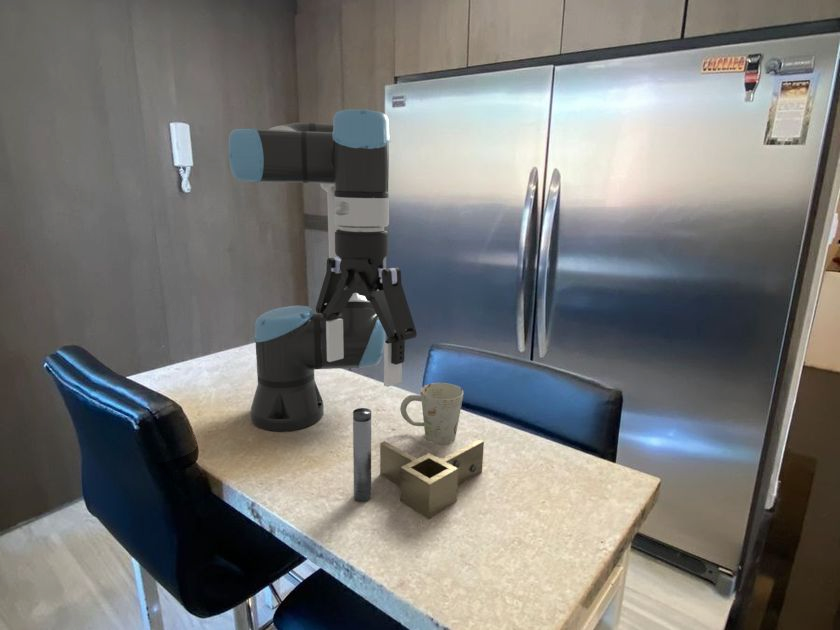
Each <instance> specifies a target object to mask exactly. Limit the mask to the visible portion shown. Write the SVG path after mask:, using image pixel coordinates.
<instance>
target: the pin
mask: <svg viewBox="0 0 840 630" xmlns="http://www.w3.org/2000/svg"><path fill="white" fill-rule="evenodd" d="M352 424H353V425H352V427H353V428H352V433H353V434H352V438H353V439H352V440H353V442H352V447H353V448H352V450H353V452H352V453H353V456H352V459H353V500H354V501H355V502H357V503H361V504H362V503H367V502H369V501H370V500H372V410H371V409H369V408H366V407H359V408H356V409H354V410H353V411H352Z"/></svg>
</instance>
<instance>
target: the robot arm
mask: <svg viewBox="0 0 840 630" xmlns="http://www.w3.org/2000/svg"><path fill="white" fill-rule="evenodd" d="M228 137H229V138H228V158H229V167H230V172H231V175H232V177H233V178H234V179H235V180H237V181H240V182H248V183H249V182H250V183H251V182H252V183H253V184H254V183H256V184H259V183H303V184H319V185H320V188H322V190H324V191H325V192H326V197H327V199H326V200H327V228H328V229H327V232H328V233H327V235H328V258H327V259H326V269H325V270H326V272H325V275H324V279H323V282H322V285H321V289H320V292H319V295H318V299H317V303H316V305H315V312H316V313H314V311H313V309H312V307H311V306H308V305H301V304H300V305H288V306H282V307H278V308H277V307H276V308H275V309H270V310H268V311H266V312H264V313H262V314H260V315H259V316H258V317H257V318H256V321H255V323H254V338H253V340H254V341H253V342H255V354H256V355H255V356H256V374H257V386H256V389H255V393H254V396H253V400H252V402H251V403H252V404H251V407H250V419H251V422H252V423H253V425H255V427H258V428H260V429H263V430H268V431H271V432H272V431H275V432H287V431H295V430H301V429H305V428H308V427H310V426H313V425H314V424H316V423H318V422H319V421H320V420H321V419H322V418H323V416H324V413H325V412H324V407H325V406H324V401H323V398H322V396H321V393H320V391H319V387H318V385H317V383H316V379H315V370H331V369H332V370H333V369H335V370H337V369H360V368H370V367H371V368H372V367H375V366H377V365H378V364H379V363H380V362H381V359H382V356H383V386H384V387H387V388H389V387H392V386H394V385H397V384H400V383H402V380H403V379H402V377H403V373H402V371H403V369H402V368H403V365H402V364H403V363H404V362H405V349H406V348H405V347H406V345H405V344H406V343H405V342H406V340H411V339H414V338H416V337H417V335H418V333H417V330H416V327H415V324H414V320H413V316H412V314H411V310H410V307H409V304H408V301H407V298H406V295H405V292H404V287H403V285H402V272H401V269H400V267H391V268H385V265H384V260H385V258H386V257H387V256H388V254H389V232H388V230H385V228H387V227H388V226H389V225H390V212H389V211H390V210H389V209H390V201H389V200H390V198H389V175H390V173H389V172H390V171H389V167H390V143H391V136H390V121H389V118H388V115H386V114H385V113H384V112H381V111H378V110H371V109H342V110H338V111H337V112H336V113H334V116H333V121H332V123H320V122H316V123H315V122H293V123H292V122H291V123H288V124H282V125H277V126H272V127H270V128H269V129H264V128H263V129H261V128H259V129H257V128H253V127H251V128H236V129H233V130H231V132H230V133H229V136H228ZM386 336H387V339H386Z"/></svg>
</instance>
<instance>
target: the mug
mask: <svg viewBox="0 0 840 630" xmlns="http://www.w3.org/2000/svg"><path fill="white" fill-rule="evenodd" d="M463 398H464V390H463V389H462V388H461V387H460V386H459V385H456V384H453V383H447V382H432V383H429V384H425V385H424V386H422V387H421V389H420V394H409V395H408V396H406V397H405V398H404V399H403V400H402V402H401V404H400V409H399V410H400V413H401V417H402V418H403V419H404V421H406V423H408V424H410V425H412V426H414V427H423V428H424V429H423V430H424V437H425V439H426V440H427V441H428V442H430V443H433V444H437V445H445V444H446V445H448V444H450V443H453V442H454V441H455V439H456V437H457V431H458V425H459V421H460V414H461V410H462V405H463V404H462V403H463V400H464V399H463ZM411 402H421V409H422V410H421V411H422V415H423V416H422V418H423V421H415V420H413V419H412V418H411V417H410V415H409V414H408V411H407V408H408V406H409V404H410V403H411Z"/></svg>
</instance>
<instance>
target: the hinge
mask: <svg viewBox="0 0 840 630" xmlns="http://www.w3.org/2000/svg"><path fill="white" fill-rule="evenodd" d="M484 443H485V442H484V440H482V439H476V440H474V442H472V443H469V444H467V445H466V446H464V447H462V448H460V449H457V450H456V451H454V452H452V453H451V454H448V455H446V456H445V457H443V458H439V457H437V456H435V455H433V454H432V453H426V454H424V455H422V456H421V457H418V458H416V457H414V456H412V455H411V454H409V453H408V452H405V451H404V450H402V449H400V448H398V447H397V446H395V445H393V444H391V443H389V442H387V441H385V440H384V441H381V442H380V443H379V458H380V459H379V475H381V476H382V477H384V478H386V479H387V480H389V482H390V481H391V483H393V484H394V485H395V484H396V485H397V486H399V487H400V488H399V501H400V502H401V503H403V504H404V505H406V506H408V507H409V508H411V509H412V510H413V511H416V512H417V513H418V514H420V515H422V516H423V517H425V518H426V519H427V520H430V519H431V518H433V517H434V516H437V515H438V514H439V513H441V512H442V511H444V510H446V509H448V508H449V507H451V506H452V505H454V504H455V503H457V497H458V496H457V495H458V487H459V486H460V485H462V484H464V483H466V482H467V481H469V480H471V479H472V478H474V477H476V476H477V475H480V473H483V463H484V461H483V460H484V458H483V457H484V448H485V447H484V446H485V445H484Z"/></svg>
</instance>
